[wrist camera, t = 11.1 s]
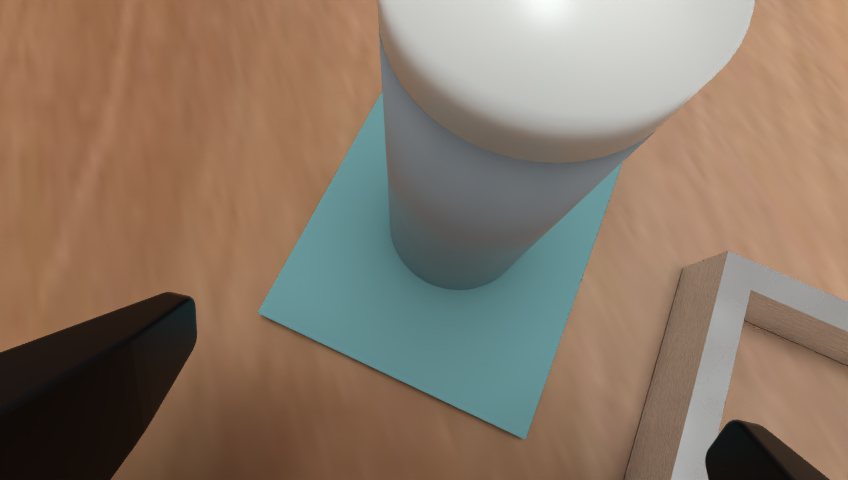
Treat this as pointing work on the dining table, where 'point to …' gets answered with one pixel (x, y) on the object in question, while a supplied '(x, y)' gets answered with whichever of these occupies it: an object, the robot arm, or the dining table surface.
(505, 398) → the mat
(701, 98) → the dining table surface
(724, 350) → the collar
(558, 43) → the ball
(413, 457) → the dining table surface
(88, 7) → the dining table surface
